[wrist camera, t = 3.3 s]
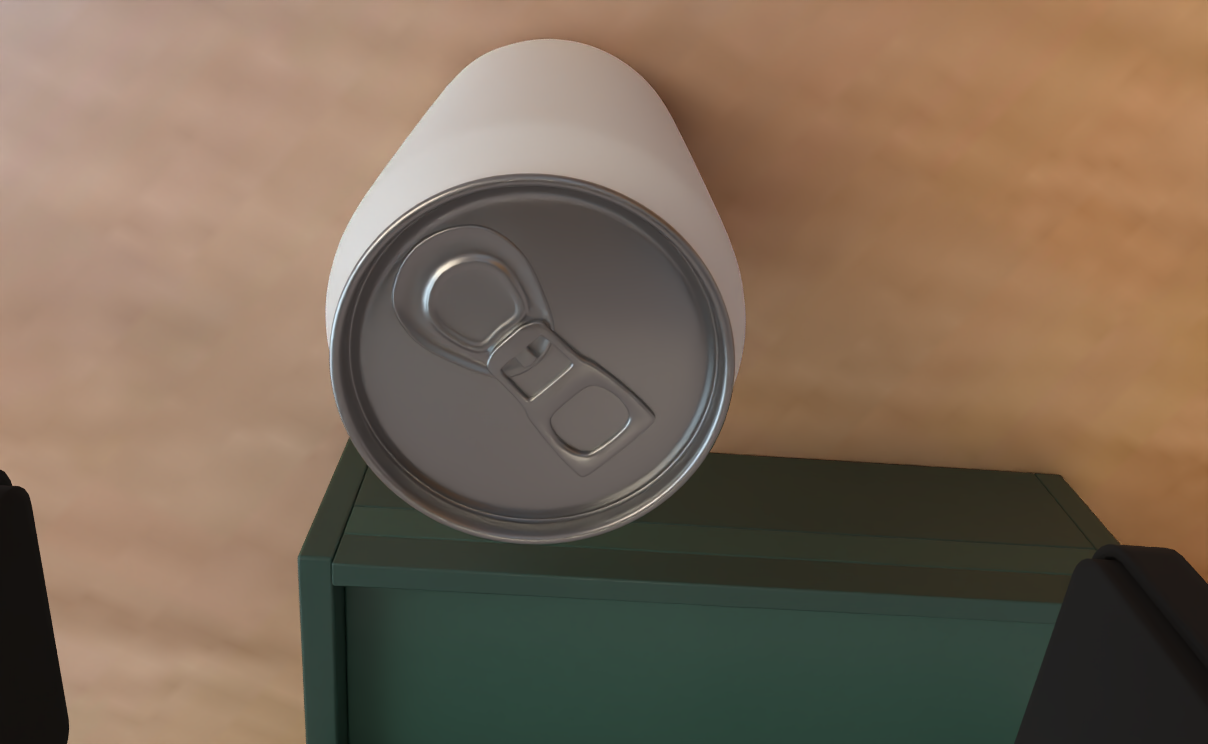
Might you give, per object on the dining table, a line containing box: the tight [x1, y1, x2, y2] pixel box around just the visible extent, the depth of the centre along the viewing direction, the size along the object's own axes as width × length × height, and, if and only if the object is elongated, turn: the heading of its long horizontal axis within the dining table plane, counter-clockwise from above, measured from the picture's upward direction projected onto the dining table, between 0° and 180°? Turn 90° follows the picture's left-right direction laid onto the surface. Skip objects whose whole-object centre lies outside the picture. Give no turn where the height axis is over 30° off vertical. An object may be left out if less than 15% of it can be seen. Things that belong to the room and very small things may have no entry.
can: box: [326, 39, 746, 544], centre depth 19 cm, size 6×6×12 cm
